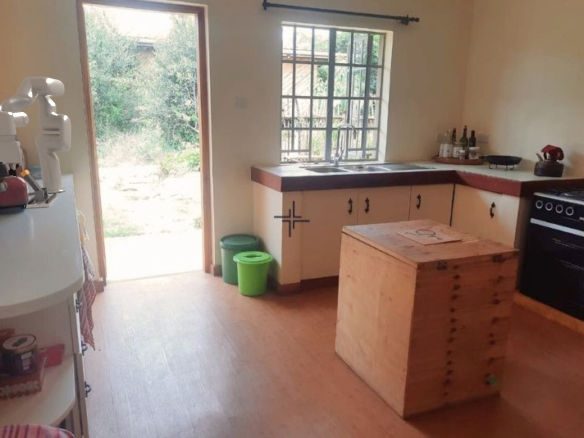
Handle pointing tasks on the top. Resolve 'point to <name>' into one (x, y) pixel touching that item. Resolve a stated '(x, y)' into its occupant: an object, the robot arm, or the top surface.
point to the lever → (30, 180)
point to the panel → (42, 199)
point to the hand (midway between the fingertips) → (13, 178)
